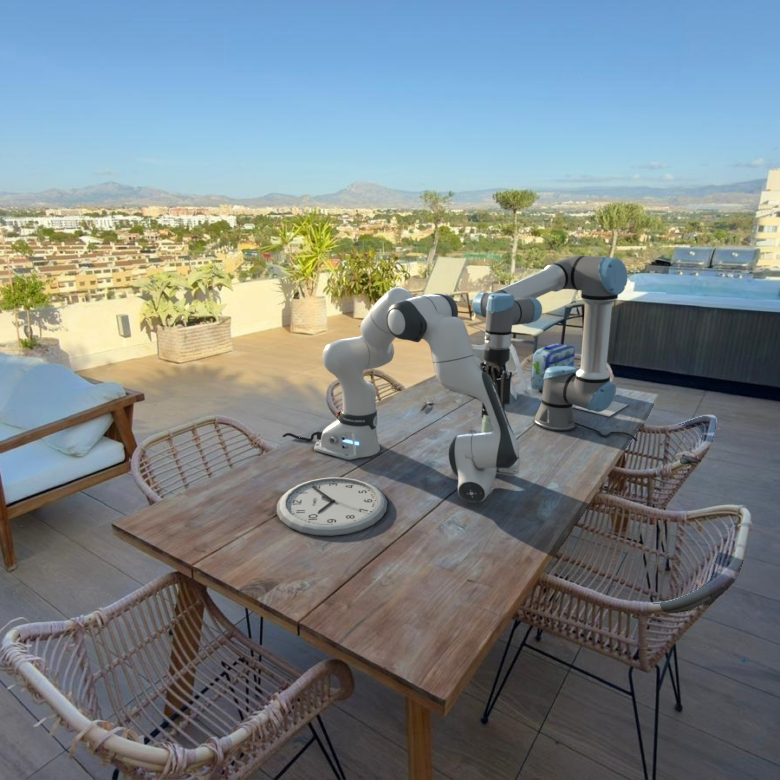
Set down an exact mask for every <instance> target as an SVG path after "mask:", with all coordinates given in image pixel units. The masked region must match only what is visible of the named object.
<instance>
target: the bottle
mask: <svg viewBox="0 0 780 780" xmlns="http://www.w3.org/2000/svg"><path fill="white" fill-rule="evenodd" d="M492 431H494V429H493V427H492V424H491V421H490V419H489V416H487V415H484V416H483V418H482V421H481V433H484V432H492Z"/></svg>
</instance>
